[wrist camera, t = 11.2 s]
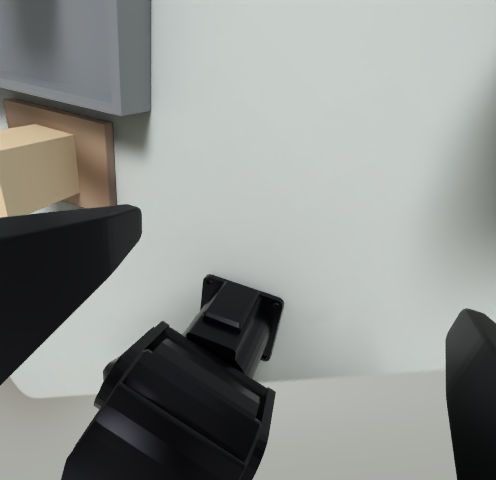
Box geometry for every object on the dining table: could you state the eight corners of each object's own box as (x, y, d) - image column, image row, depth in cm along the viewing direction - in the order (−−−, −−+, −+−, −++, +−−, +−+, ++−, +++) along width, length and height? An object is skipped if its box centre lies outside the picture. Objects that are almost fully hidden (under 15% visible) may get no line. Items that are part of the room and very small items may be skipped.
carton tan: (80, 192, 26) (7, 222, 21) (44, 181, 27) (-34, 207, 22) (73, 134, 24) (-9, 152, 19) (35, 124, 25) (-55, 138, 20)
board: (117, 212, 27) (110, 216, 26) (28, 184, 29) (20, 187, 28) (112, 122, 24) (104, 124, 23) (12, 98, 26) (2, 99, 25)
